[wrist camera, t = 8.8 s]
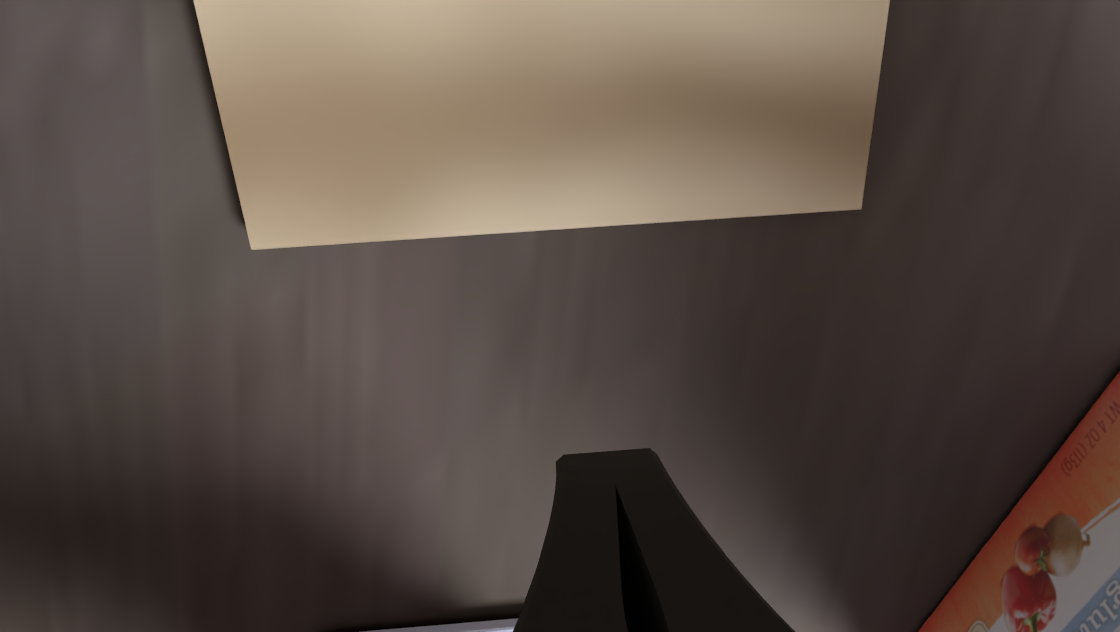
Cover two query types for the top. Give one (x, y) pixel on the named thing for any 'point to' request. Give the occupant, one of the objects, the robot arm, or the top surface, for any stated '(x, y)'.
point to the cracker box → (1052, 544)
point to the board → (538, 112)
